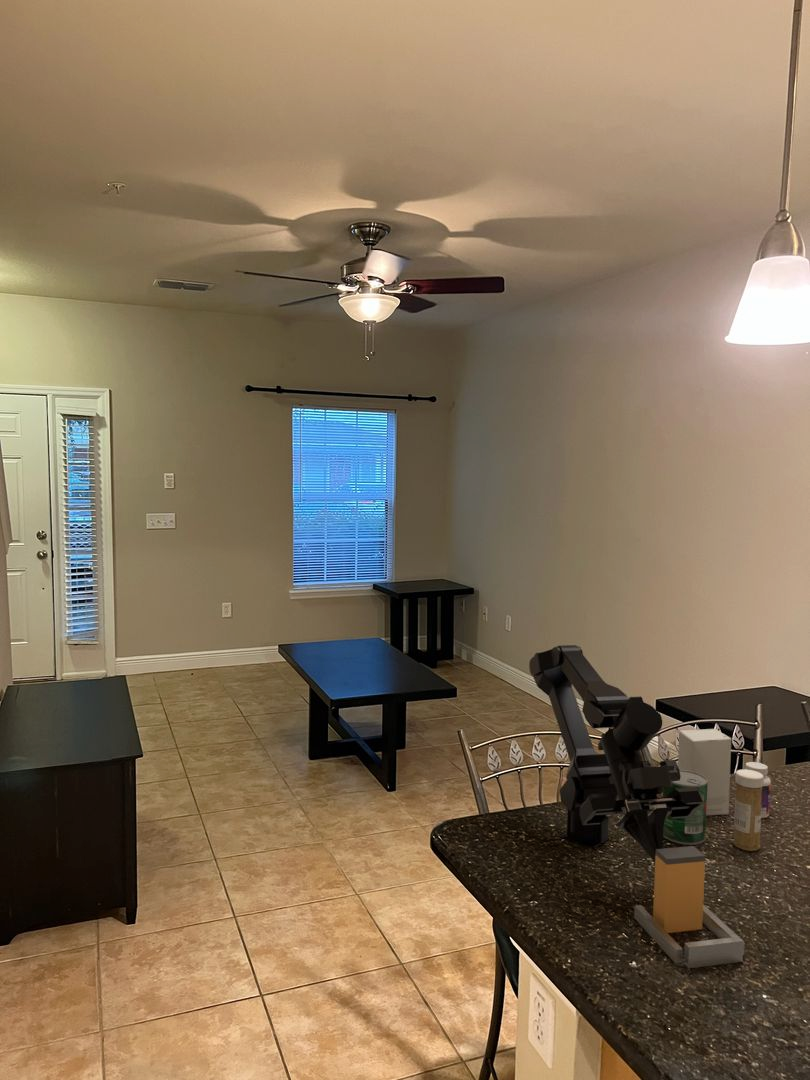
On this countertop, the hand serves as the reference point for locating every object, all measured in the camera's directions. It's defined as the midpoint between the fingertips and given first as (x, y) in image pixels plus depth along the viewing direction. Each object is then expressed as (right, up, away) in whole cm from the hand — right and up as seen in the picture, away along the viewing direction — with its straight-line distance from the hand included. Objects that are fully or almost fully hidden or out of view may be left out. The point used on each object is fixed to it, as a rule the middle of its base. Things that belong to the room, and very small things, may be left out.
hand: (659, 861), depth 114 cm
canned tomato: (+13, -7, +27) cm, 31 cm away
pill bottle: (+31, -6, +37) cm, 49 cm away
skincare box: (+21, -6, +38) cm, 44 cm away
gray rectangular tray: (+1, -8, -6) cm, 10 cm away
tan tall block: (+1, -7, -5) cm, 9 cm away
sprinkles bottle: (+23, -7, +23) cm, 33 cm away
